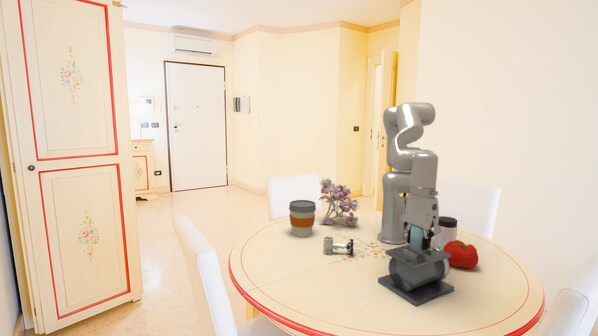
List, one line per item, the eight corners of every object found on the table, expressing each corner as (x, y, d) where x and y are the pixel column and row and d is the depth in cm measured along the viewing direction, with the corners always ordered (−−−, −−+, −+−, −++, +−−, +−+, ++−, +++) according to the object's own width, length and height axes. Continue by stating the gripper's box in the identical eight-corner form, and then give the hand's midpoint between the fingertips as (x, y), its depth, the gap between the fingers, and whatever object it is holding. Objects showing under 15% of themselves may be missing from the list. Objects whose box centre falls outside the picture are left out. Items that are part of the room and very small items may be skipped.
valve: (322, 256, 129) (353, 258, 128) (323, 240, 128) (353, 242, 127) (323, 249, 136) (352, 251, 135) (323, 234, 135) (352, 236, 134)
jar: (438, 239, 148) (440, 214, 147) (457, 244, 143) (459, 218, 141) (431, 245, 142) (434, 219, 140) (451, 250, 137) (454, 223, 135)
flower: (335, 234, 149) (356, 184, 151) (302, 217, 165) (321, 173, 167) (357, 241, 163) (375, 196, 165) (324, 225, 179) (342, 184, 181)
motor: (414, 270, 119) (417, 236, 117) (453, 290, 105) (457, 253, 103) (377, 282, 110) (380, 245, 108) (415, 306, 96) (419, 265, 94)
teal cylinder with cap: (416, 243, 109) (418, 218, 107) (430, 249, 104) (432, 223, 103) (406, 246, 106) (407, 221, 105) (419, 252, 102) (421, 226, 100)
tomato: (434, 260, 128) (435, 239, 126) (458, 255, 132) (460, 236, 130) (459, 275, 116) (462, 252, 114) (485, 269, 120) (488, 248, 119)
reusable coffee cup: (319, 232, 155) (320, 202, 153) (306, 240, 145) (307, 208, 142) (298, 227, 162) (298, 198, 159) (283, 235, 151) (283, 204, 149)
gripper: (454, 196, 97) (449, 253, 100) (409, 185, 111) (405, 235, 114) (438, 199, 93) (432, 258, 96) (393, 187, 108) (390, 239, 111)
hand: (418, 245), depth 105 cm, fingers closed on teal cylinder with cap, 5 cm apart
